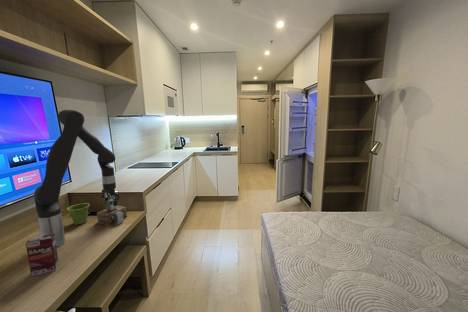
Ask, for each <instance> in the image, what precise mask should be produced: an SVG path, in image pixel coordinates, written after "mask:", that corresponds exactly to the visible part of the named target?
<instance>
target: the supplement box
mask: <svg viewBox="0 0 468 312" xmlns="http://www.w3.org/2000/svg"><path fill="white" fill-rule="evenodd" d="M25 247H26V253H27V259H28V265H29V272H30V277H34V276H38V275H42V274H45V273H46V274H47V273H49V272H54V271H57V269H58V267H59V258H58V257H59V256H58V248H57V247H56V240H55V233H54V234H49V235H44V236H39V235H38V236H35V237H30V238H28V240H27V241H26V242H25Z"/></svg>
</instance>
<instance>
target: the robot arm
mask: <svg viewBox="0 0 468 312" xmlns="http://www.w3.org/2000/svg"><path fill="white" fill-rule="evenodd" d="M57 119H58V121H59V122H60V123H61V124H62V126H63V129H62V131H61V134H60V135H59V137H58V138H57V139H56V140H55V141H54V142H53V144H52V145H51V146H50V148H49V152H48V155H47V157H46V164H45V173H44V174H45V176H44V177H43V181H42V183H41V185H39V186H37V187H36V189H35V190H34V192H33V196H34V203H35V209H36V213H37V217H38V225H39V230H38V237H39V236H44V235H49V234H54V233H55V240H56V248H57V247H59V246H62V245H63V244H65V242H66V236H65V235H66V234H65V229H64V222H63V216H62V215H63V214H62V208H61V205H60V201H59V198H60V194H61V189H62V185H63V179H64V178H65V177H64V176H65V174H66V171H67V170H68V166H69V164H70V163H71V158H72V155H73V152H74V149H75V145H76V142H77V139H78V138H79V140H81V141H82V142H83V143H84V144H85V146H87V147H88V148H89V150H90V151H91V152H93V154H95V155H97V162H98V165H99V168H100V170H101V182H102V189H101V197H102V199H104V204H105V205H107V204H106V201H107V200H110V199H113V204H114V206H117V205H118V201H119V200H120V193H119V190H115V189H116V188H117V183H116V175H115V169H114V167H113V166H111V165H110V164H113V163H114V162H115V161H116V155H115V153H114V152H113V151H111V150H110V149H109V148H107V147H106V146H105V145H104V144H103V143H102V142H101V141H100V139H98V138H97V137H96V136H95V135H94V134H92V133H91V132H90V131H89V130H88V129H86V127H84V123H85V116H84V114H83V113H82V112H81V111H78V110H73V109H62V110H61V111H59V112H58V114H57ZM109 198H110V199H109Z"/></svg>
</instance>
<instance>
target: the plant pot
mask: <svg viewBox="0 0 468 312" xmlns="http://www.w3.org/2000/svg"><path fill="white" fill-rule="evenodd" d="M89 207H90V203H88V202H85V203H79V204H78V203H77V204H73V205H71V206H69V207H67V208H66V210H67V211H68V212H69V214H70V218H71V220H72V223H73V225H75V226H77V225H78V226H79V225H83V224H85V223H86V222H87V221H88V216H89V214H88V213H89Z"/></svg>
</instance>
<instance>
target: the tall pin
mask: <svg viewBox="0 0 468 312" xmlns="http://www.w3.org/2000/svg"><path fill="white" fill-rule="evenodd" d="M105 205H106V209H107V211H108V212H112V211H115V210H117V208H116V206H114V204H113V199H111V198H110V199H109V200H107V201H106V204H105ZM111 222H114V218H113V216H111Z"/></svg>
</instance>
